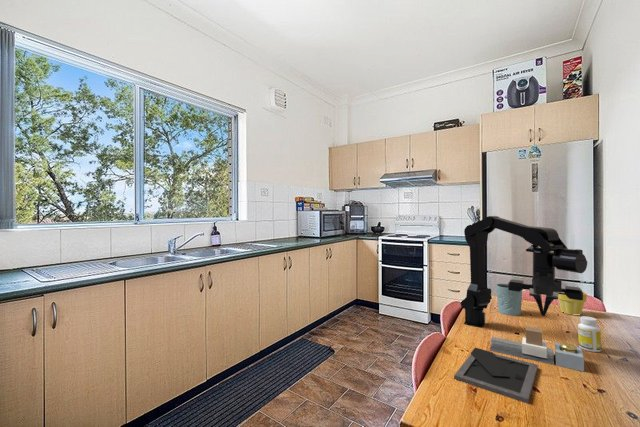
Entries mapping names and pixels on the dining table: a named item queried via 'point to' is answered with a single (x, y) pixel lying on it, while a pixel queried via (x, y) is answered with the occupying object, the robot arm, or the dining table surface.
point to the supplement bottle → (589, 334)
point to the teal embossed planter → (508, 300)
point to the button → (568, 347)
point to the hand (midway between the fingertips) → (543, 315)
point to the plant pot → (571, 304)
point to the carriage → (534, 343)
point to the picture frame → (498, 374)
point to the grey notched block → (569, 358)
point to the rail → (550, 361)
